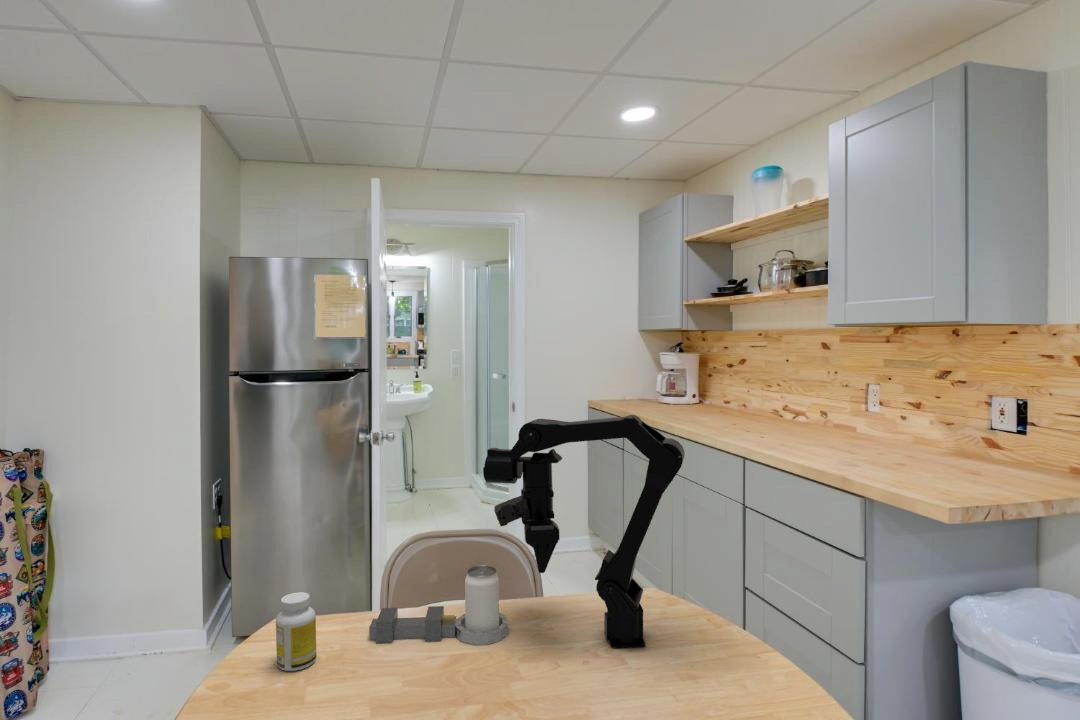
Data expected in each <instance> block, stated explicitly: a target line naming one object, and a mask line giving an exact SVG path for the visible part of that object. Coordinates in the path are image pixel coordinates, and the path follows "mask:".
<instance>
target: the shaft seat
mask: <svg viewBox="0 0 1080 720" xmlns="http://www.w3.org/2000/svg"><path fill="white" fill-rule="evenodd" d="M398 609H399V608H398V607H382V608H381V610H380V612H379V615H378V617H377V618H372V620H371V623H370V624H369V626H368V628H369V630H368V634H369V636H368V637H369V641H375V644H391V643H392V642H394V640H395V641H396V640H416V639H417V640H419V639H420V640H421V639H424V642H426V643H429V642H442V639H444V638H445V639H446V638H447V639H448V638H449V639H450V638H456V639H458V640H459V641H460V642H461V643H462V644H463V643H464V644H468V645H472V646H480V645H481V646H485V645H491V644H494V643H498V642H501V641H502V640H503V639H504V638H506V637H507V636H508V634H509V631H508V628H509V627H508V626H509V625H508V623H509V622H508V617H507V616H505V614H503V613H502V612H499V627H498V628H496V629H493V630H490V631H485V632H474V631H470V630H466V623H465V613H463V614H462V615H460V616H458V617H457V616H456V615H455V614H445V607H444V605H441V606H439V605H437V606H427V611H426V615H425V616H424V617H423V616H422V617H421V616H420V617H419V616H418V617H417V616H416V617H399V613H398V612H399V611H398ZM387 642H388V643H387ZM390 642H391V643H390Z"/></svg>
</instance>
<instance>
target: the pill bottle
mask: <svg viewBox="0 0 1080 720" xmlns="http://www.w3.org/2000/svg"><path fill="white" fill-rule="evenodd" d="M280 599H281V600H280V608H281V610H282V611H280V612H279V613H278V614H277V615H276V618H275V638H276V639H275V641H276V643H275V644H276V665H277V667H278V668H279V669H280V670H282V671H286V672H294V671H301V670H303V669H306V668H308V667H310V666H311V665H313V664H314V662H315V661H316V659H317V624H316V623H317V622H316V621H317V617H316V616H317V615H316V611H315V610H314V608H312V607H311V606H309V605H311V597H310V593H307V592H303V591H302V592H301V591H300V592H292V593H289V594H286V595H284V596H283V597H282V598H280Z"/></svg>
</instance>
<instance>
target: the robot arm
mask: <svg viewBox="0 0 1080 720" xmlns="http://www.w3.org/2000/svg"><path fill="white" fill-rule="evenodd" d="M615 439H616V440H617V439H626V440H628V441H629V442H630V443H631V444H632V445H633V446H634V447H635V448H636V449H637V450H638V451H639V452H640V453H641V454H642V455H643V456H644V457H646V458H647V460H648V465H647V468H646V469H647V470H646V473H645V481H644V485H643V488H642V491H641V494H640V496H639V498H638V501H637V503H636V506H635V508H634V510H633V512H632V515H631V518H630V520H629V522H628V525H627V527H626V529H625V531H624V533H623V536H622V539H621V541H620V543H619V546H618V547H617V549H616V551H615V552H613V551H611V550H610V549H608V550H607V552H606V554H605V555H604V556H603V559H602V561H601V566H600V568H599V570H598V572H597V573H596V575H595V578H594V580H595V581H597V582H596V586H595V587H596V592H597V595H598V597H599V598H600V599H601V600H602V601H603V602H604V604H605V606H606V610H607V611H605V612H604V618H603V620H604V622H603V626H604V628H603V631H604V636H605V639H606V640H607V641H608V643H609V645H610V648H613V649H614V648H617V649H618V648H639V647H640V648H641V647H642V648H644V647H646V643H647V642H646V641H645V639H644V609H643V606H642V604H641V603H640V602H641V600H642V596H643V593H644V589H643V588H642V587H641V586H640V585H639V584H638V582H637V581H636V580H635V579H634V577H633V576H634V572H635V567H636V562H637V555H638V553H639V550H640V548H641V546H642V543H644V542H643V541H644V539H645V537H646V534H647V531H648V530H649V527H650V525H651V522H652V520H653V518H654V516H655V513H656V511H657V509H658V506H659V503H660V500H661V498H662V496H663V494H664V493H665V491H666V490H667V488H668V487H669V486H670V485H671V483H672V481H673V480H674V478H675V477H676V476H677V474H678V472H679V471H680V470H681V468H682V465H683V462H684V459H685V453H686V452H685V449H684V447H683V445H682V444H681V443H680V442H679V440H677V439H674V438H671V437H670V438H667V437H665V435H663V434H662V433H661V432H659V431H658V430H657V429H655V428H653V427H652V426H650V425H649V424H647V423H646V422H645V421H643V420H642V418H640V417H639V416H638V415H635V414H629V415H626V416H617V417H606V418H598V419H586V420H577V421H576V420H575V421H563V420H557V419H551V418H549V419H548V418H537V419H533V420H531V421H529V422H527V423H524V424H523V425H522V426H521V427H520V429H519V431H518V440H517V441H516V443H514V445H513V447H511V449H510V448H509V449H508V448H498V447H491V448H488V449H487V450H486V451H487V453H486V454H487V455H486V458H485V461H484V465H483V467H482V468H483V469H482V470H483V471H482V474H483V479H484V481H485V482H486V483H489V484H491V483H492V484H493V483H494V484H513V485H514V484H516V483H517V481H518V480H520V479H521V478H522V489H520V495H519V496H515V497H513V498H511V499H510V498H509V499H507V500H505V501H503V502H500V503H498V504H496V505H495V506H494V511H493V512H494V513H495V515H496V516H495V517H496V518H497V519H496V520H497V521H498V524H499V527H505V526H507V525H508V524H510V523H511V522H514V521H517V520H519V519H520V520H521V523H522V524H523V525H524V526H523V527H524V528H523V529H524V540H525V544H527V545H529V546H530V547H531V548H533V553H534V557H535V561H536V565H537V570H538V573H539V574H544V573H545V572H546V570H547V567H548V565H549V563H550V560H551V558H552V555H553V553H554V550H555V549H556V546H557V544H558V542H559V541H560V540H561V539H560V528H559V525H558V524H557V523H556V522H555V521H554V519H555V512H554V508H553V507H554V505H553V503H554V500H553V499H554V497H555V496H554V494H555V491H554V490H553V466H552V464H558V463H559V462H561V461H562V460H563V457H562V456H561V455H560V454H559V453H557V451H556V449H555V448H554V447H558V446H561V445H564V444H567V443H581V442H590V441H591V442H593V441H601V440H602V441H603V440H604V441H605V440H615ZM551 448H552V449H551ZM548 449H550V450H549V451H548V452H540V451H544V450H548ZM529 452H530V453H532V455H531V456H524V455H525V454H528V453H529ZM552 519H553V520H552Z"/></svg>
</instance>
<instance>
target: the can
mask: <svg viewBox="0 0 1080 720" xmlns="http://www.w3.org/2000/svg"><path fill="white" fill-rule="evenodd" d="M466 573H467V574H466V576H465V581H464V593H465V594H464V597H465V598H464V605H465V606H464V609H465V610H464V611H465V613H464V614H465V623H466V627H465V629H466V630H470V631H474V632H485V631H490V630H493V629H496V628H498V627H499V613H500V586H499V585H500V584H499V582H500V581H499V579H500V578H499V576H498V574H497V569H496V568H495V567H493V566H490V565H477V566H473V567H470V568H468V569H467V572H466Z"/></svg>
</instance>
